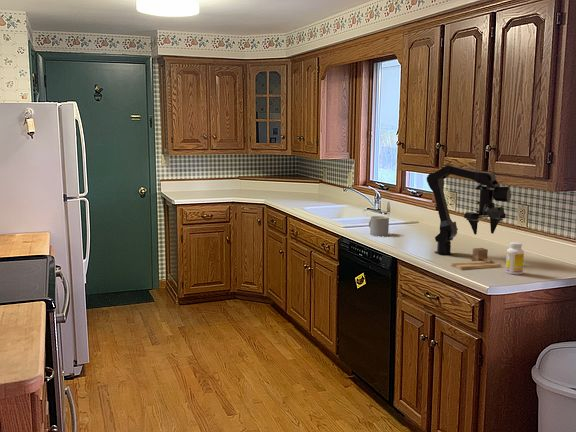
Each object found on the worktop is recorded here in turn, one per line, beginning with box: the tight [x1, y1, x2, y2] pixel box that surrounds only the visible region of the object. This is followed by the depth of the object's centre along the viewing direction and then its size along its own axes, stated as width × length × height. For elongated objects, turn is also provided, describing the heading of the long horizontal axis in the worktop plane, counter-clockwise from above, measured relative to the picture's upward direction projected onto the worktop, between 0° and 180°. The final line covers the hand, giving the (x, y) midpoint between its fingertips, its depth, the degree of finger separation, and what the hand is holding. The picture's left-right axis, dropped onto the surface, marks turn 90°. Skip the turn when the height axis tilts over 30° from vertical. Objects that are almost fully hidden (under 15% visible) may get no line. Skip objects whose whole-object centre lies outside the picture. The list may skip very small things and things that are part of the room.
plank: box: [450, 260, 501, 271], centre depth 260 cm, size 8×20×1 cm, turn 109°
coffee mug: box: [368, 215, 390, 237], centre depth 332 cm, size 13×10×10 cm
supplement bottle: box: [505, 241, 525, 276], centre depth 247 cm, size 7×7×13 cm
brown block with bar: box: [471, 247, 494, 263], centre depth 265 cm, size 10×5×6 cm, turn 19°
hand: (483, 233), depth 271 cm, fingers open, 9 cm apart
